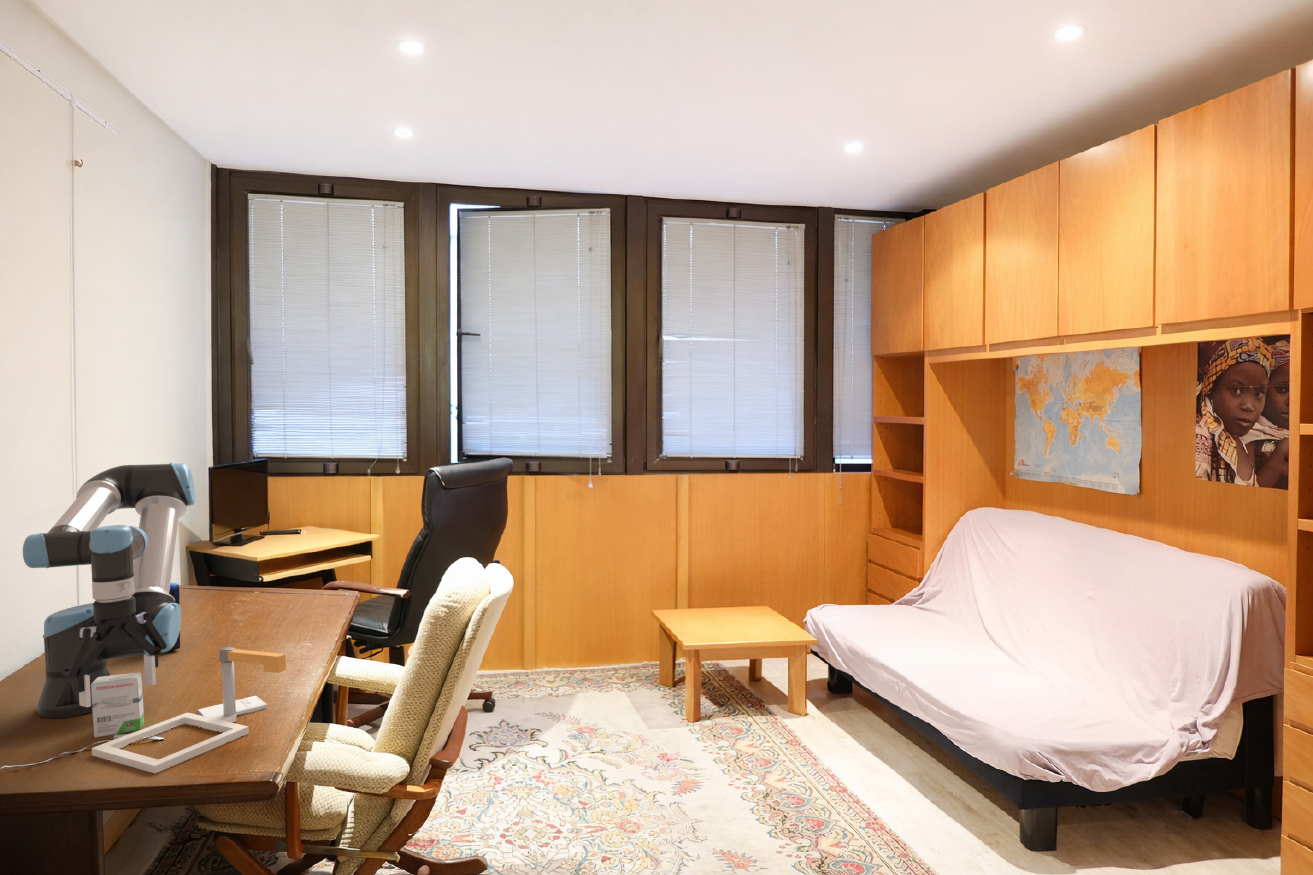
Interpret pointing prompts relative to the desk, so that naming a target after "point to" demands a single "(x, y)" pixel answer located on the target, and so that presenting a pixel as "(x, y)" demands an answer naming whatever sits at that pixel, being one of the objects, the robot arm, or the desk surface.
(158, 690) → the desk surface
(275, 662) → the orange bar
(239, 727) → the socket frame
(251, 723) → the desk surface
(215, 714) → the external hard drive
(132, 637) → the robot arm
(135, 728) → the ink box
